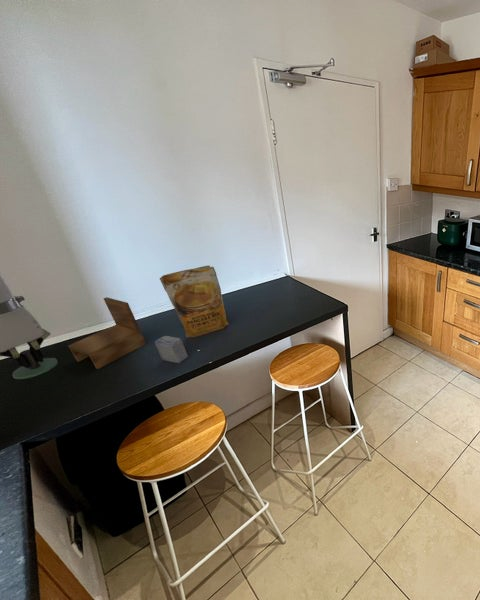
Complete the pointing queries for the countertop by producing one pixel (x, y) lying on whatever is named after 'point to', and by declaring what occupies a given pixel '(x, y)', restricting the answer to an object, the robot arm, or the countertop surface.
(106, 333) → the wooden bookend
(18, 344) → the robot arm
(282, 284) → the countertop surface
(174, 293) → the pancake mix bag
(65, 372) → the countertop surface
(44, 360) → the lid
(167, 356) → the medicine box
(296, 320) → the countertop surface
